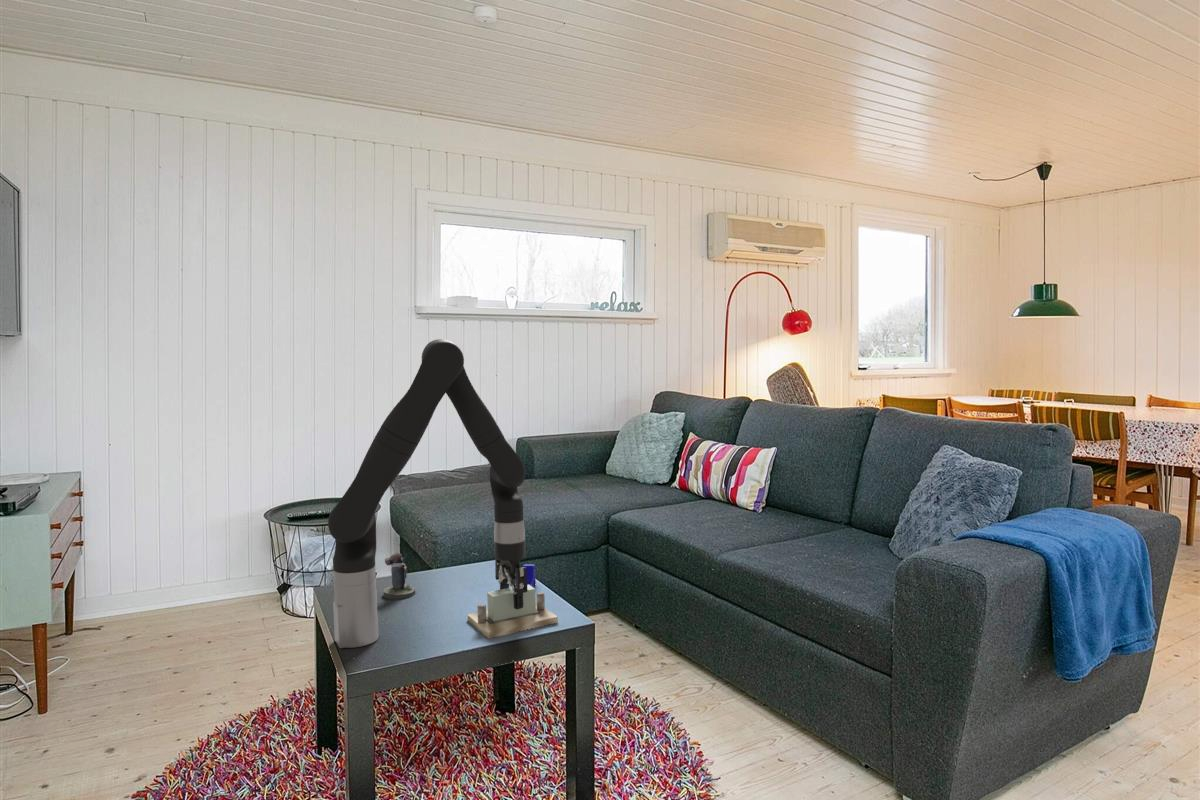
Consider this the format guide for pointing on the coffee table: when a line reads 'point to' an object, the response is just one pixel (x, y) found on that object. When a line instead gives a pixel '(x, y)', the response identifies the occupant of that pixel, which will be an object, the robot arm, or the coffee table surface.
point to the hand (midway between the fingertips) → (511, 603)
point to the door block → (509, 604)
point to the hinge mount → (512, 620)
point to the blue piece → (530, 574)
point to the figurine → (398, 579)
